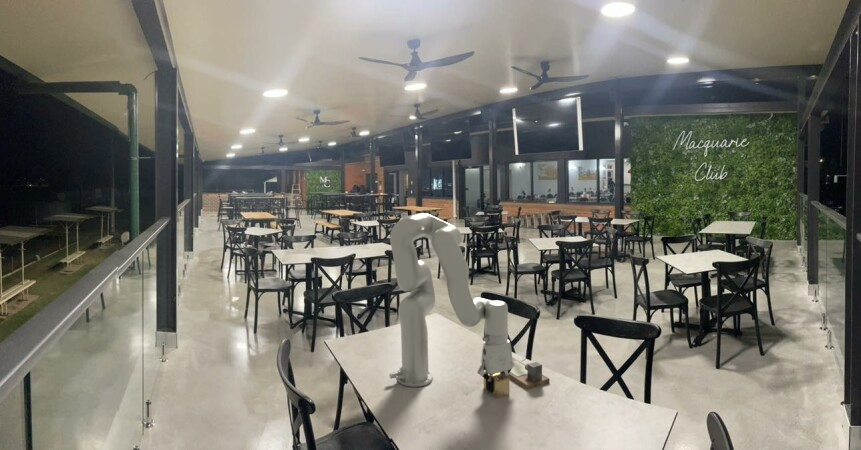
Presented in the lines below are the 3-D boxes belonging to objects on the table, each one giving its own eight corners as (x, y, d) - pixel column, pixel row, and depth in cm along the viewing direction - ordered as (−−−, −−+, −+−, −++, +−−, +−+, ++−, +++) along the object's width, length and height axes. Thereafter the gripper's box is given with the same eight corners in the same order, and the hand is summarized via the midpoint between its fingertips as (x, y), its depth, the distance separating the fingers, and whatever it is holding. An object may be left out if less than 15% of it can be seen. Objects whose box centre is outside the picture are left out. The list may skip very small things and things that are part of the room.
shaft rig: (526, 389, 162) (527, 369, 161) (487, 363, 183) (487, 346, 182) (549, 382, 167) (549, 363, 166) (508, 358, 188) (508, 341, 187)
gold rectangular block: (497, 398, 156) (497, 380, 156) (483, 388, 163) (483, 371, 163) (509, 394, 159) (509, 377, 158) (495, 384, 166) (495, 368, 165)
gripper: (481, 346, 151) (481, 399, 154) (523, 336, 159) (523, 387, 161) (468, 338, 158) (469, 390, 160) (510, 329, 166) (509, 379, 168)
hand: (496, 388), depth 161 cm, fingers closed on gold rectangular block, 5 cm apart
